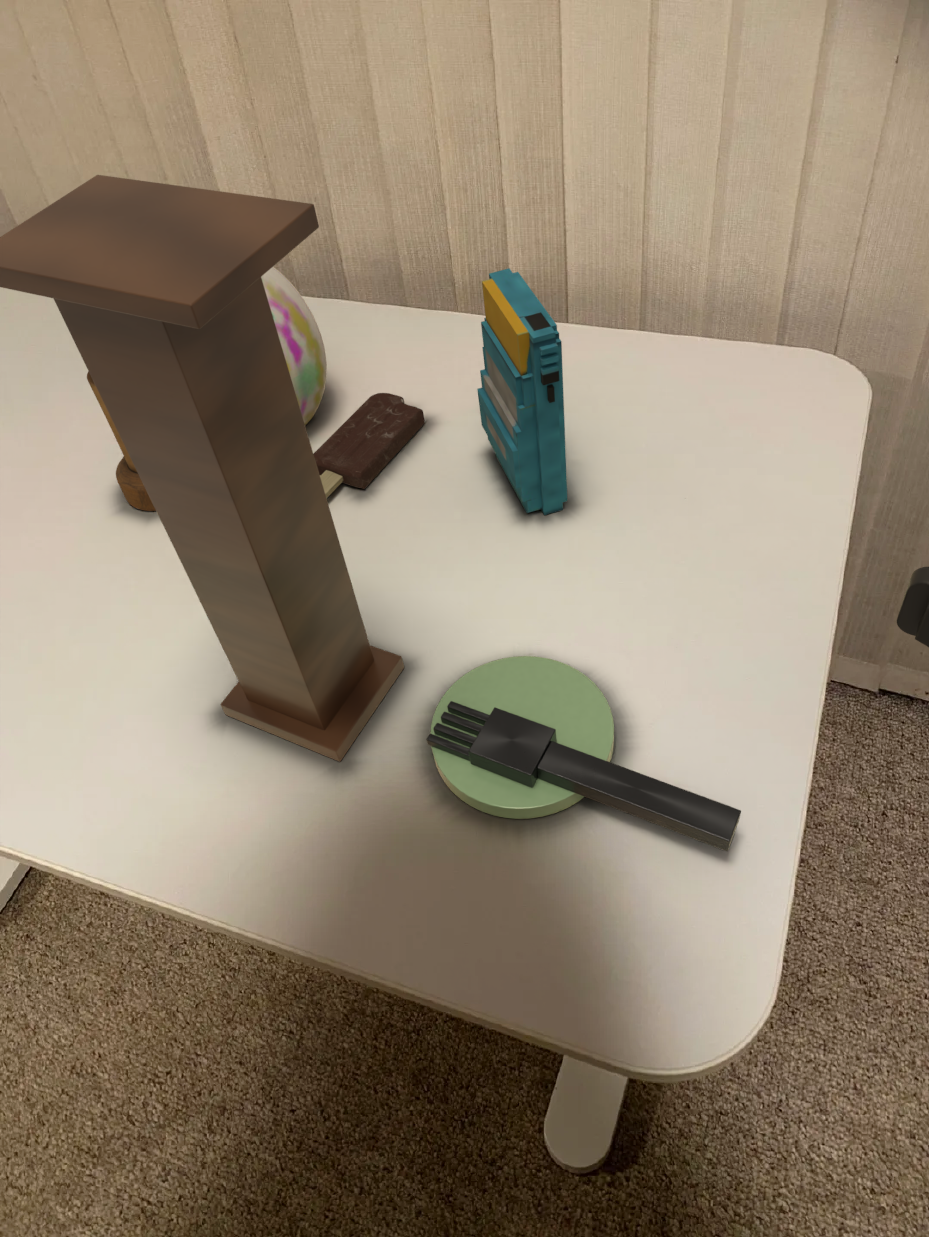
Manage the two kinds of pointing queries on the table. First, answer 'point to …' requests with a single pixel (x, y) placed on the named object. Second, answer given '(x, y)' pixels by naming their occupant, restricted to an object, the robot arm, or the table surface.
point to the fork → (579, 773)
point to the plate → (539, 697)
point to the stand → (215, 431)
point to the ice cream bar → (367, 441)
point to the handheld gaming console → (523, 392)
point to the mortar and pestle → (125, 466)
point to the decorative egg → (298, 341)
